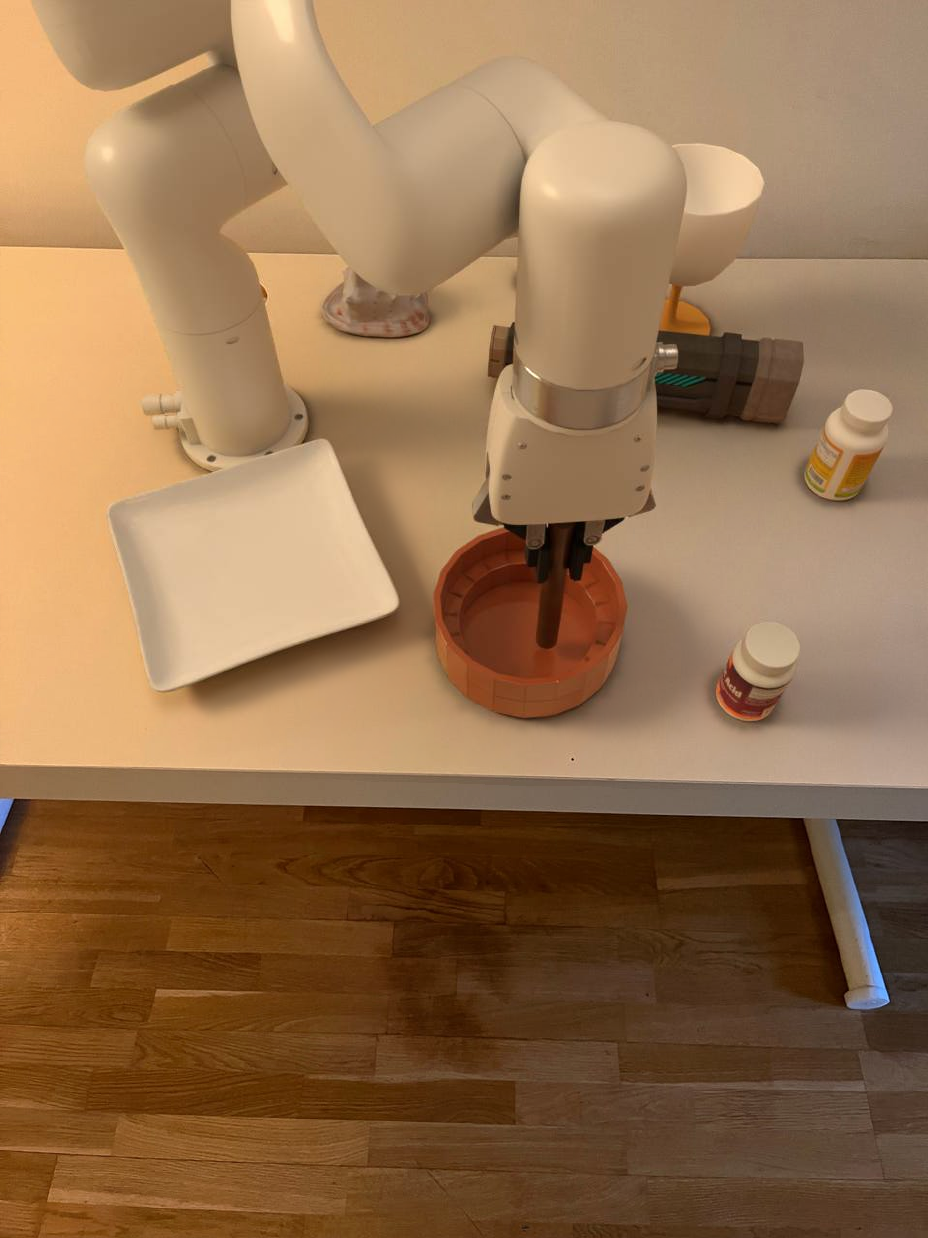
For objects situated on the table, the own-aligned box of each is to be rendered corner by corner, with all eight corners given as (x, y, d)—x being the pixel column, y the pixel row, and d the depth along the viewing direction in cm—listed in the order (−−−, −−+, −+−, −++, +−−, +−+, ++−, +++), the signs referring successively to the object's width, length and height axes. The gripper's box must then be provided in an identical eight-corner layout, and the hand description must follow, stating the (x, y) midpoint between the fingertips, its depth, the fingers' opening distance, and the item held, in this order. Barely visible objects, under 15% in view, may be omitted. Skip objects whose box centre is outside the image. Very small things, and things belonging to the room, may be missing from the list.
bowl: (443, 727, 72) (440, 692, 67) (431, 573, 80) (428, 531, 75) (631, 712, 73) (642, 676, 68) (600, 561, 81) (608, 518, 76)
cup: (616, 288, 101) (639, 138, 87) (722, 296, 100) (763, 146, 86) (610, 359, 95) (634, 210, 81) (723, 369, 94) (768, 220, 80)
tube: (500, 374, 98) (790, 377, 92) (492, 427, 96) (789, 435, 90) (485, 307, 88) (809, 306, 82) (476, 366, 86) (809, 369, 80)
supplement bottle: (866, 469, 86) (907, 393, 78) (854, 509, 84) (895, 434, 76) (810, 452, 88) (844, 375, 80) (796, 491, 85) (830, 415, 77)
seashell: (346, 271, 104) (335, 195, 96) (445, 291, 102) (443, 214, 94) (312, 328, 98) (298, 252, 91) (416, 349, 96) (411, 274, 89)
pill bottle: (708, 673, 75) (732, 618, 68) (765, 669, 75) (795, 613, 68) (722, 725, 72) (749, 674, 65) (781, 720, 72) (814, 668, 65)
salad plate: (163, 714, 73) (150, 694, 70) (114, 525, 84) (101, 501, 81) (408, 628, 77) (405, 606, 74) (332, 458, 88) (327, 433, 85)
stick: (535, 649, 74) (549, 529, 60) (534, 630, 75) (547, 508, 61) (558, 649, 74) (576, 528, 60) (556, 630, 75) (574, 507, 61)
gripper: (707, 315, 52) (654, 518, 68) (433, 332, 52) (443, 532, 67) (738, 408, 48) (674, 601, 64) (442, 427, 48) (450, 617, 63)
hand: (556, 565), depth 65 cm, fingers closed on stick, 1 cm apart
